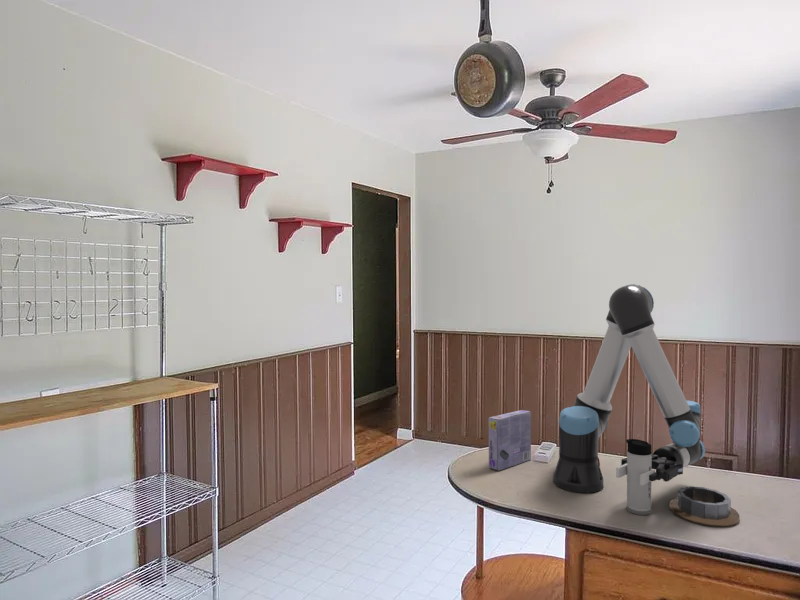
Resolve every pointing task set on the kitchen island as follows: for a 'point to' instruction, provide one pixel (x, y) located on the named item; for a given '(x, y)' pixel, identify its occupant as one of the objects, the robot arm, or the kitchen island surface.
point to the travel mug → (638, 476)
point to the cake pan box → (509, 439)
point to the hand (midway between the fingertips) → (629, 476)
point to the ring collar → (704, 507)
